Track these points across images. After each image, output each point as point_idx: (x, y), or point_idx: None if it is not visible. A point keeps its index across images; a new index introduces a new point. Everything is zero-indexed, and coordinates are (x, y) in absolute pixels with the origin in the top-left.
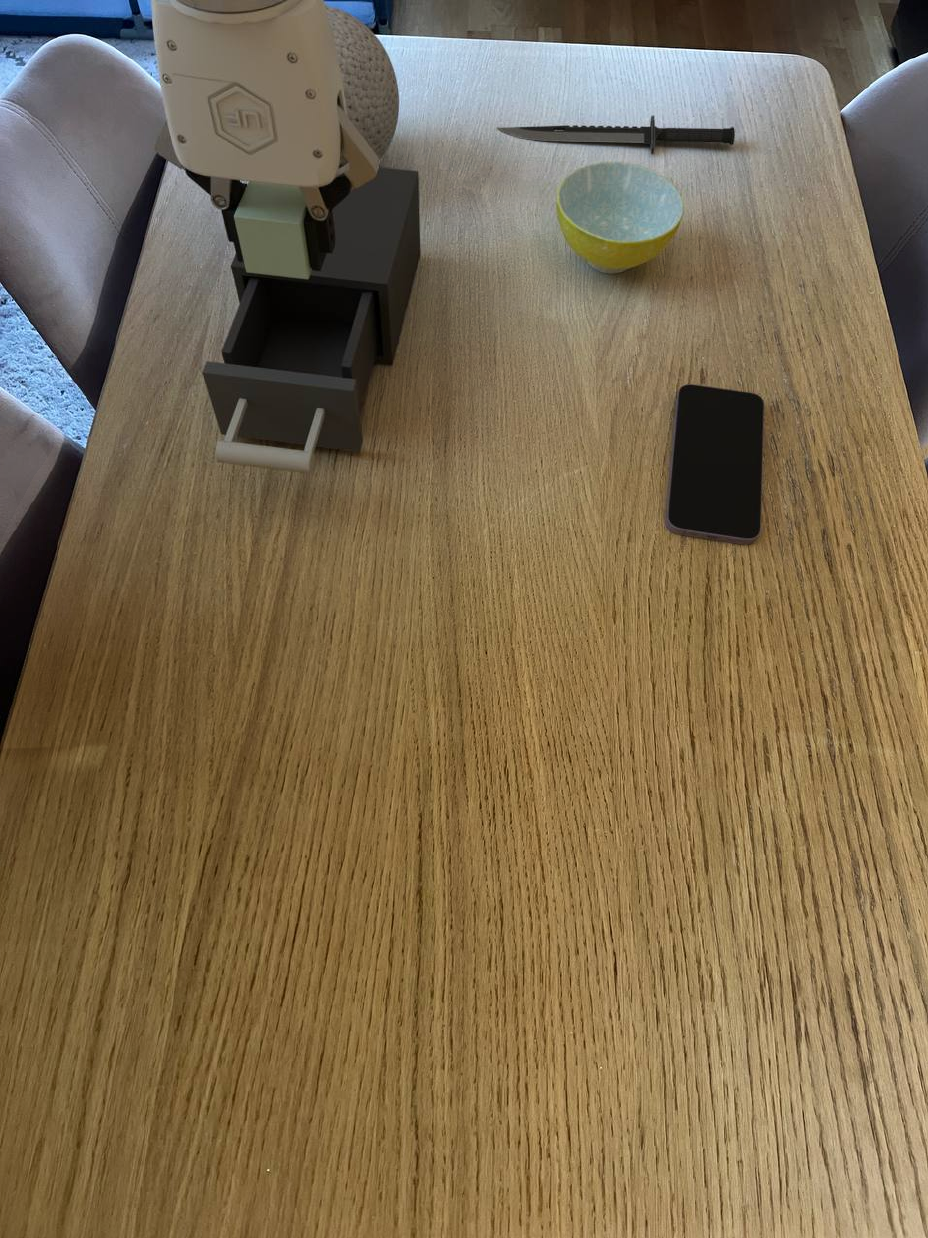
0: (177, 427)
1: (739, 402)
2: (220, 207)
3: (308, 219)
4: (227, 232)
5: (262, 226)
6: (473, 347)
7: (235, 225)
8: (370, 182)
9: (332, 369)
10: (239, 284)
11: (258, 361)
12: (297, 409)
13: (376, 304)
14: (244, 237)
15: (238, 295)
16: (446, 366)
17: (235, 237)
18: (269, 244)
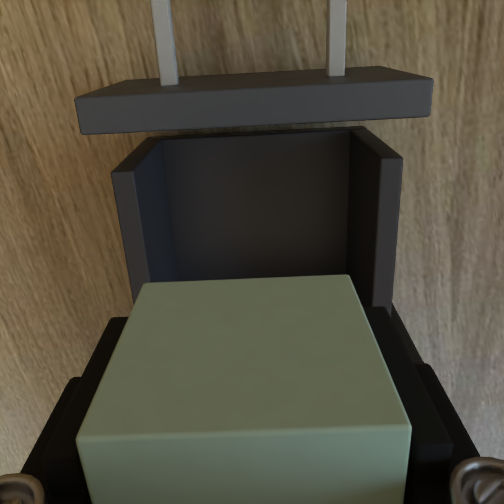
0: (464, 81)
1: None
2: (488, 464)
3: (68, 470)
4: (436, 384)
5: (267, 401)
6: (45, 338)
7: (404, 399)
8: None
9: (220, 238)
10: (406, 346)
11: (348, 227)
12: (221, 82)
13: None
14: (355, 354)
15: (405, 330)
16: (69, 297)
17: (399, 361)
18: (251, 346)
